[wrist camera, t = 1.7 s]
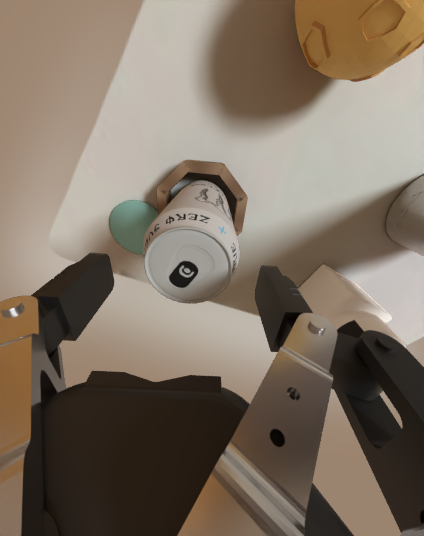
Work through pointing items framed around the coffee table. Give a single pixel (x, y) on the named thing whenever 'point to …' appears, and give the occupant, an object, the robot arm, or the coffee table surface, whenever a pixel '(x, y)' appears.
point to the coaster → (132, 224)
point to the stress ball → (358, 35)
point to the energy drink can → (192, 245)
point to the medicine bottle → (344, 304)
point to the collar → (205, 168)
